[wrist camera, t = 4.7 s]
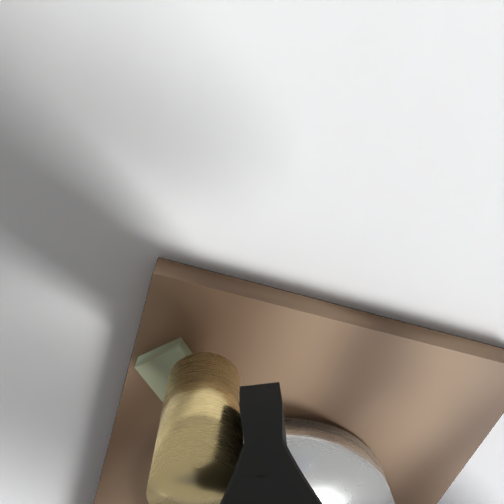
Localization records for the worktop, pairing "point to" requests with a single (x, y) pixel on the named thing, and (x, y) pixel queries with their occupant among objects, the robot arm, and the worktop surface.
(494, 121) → the worktop surface
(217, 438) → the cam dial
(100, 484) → the brown flat rectangular slab
